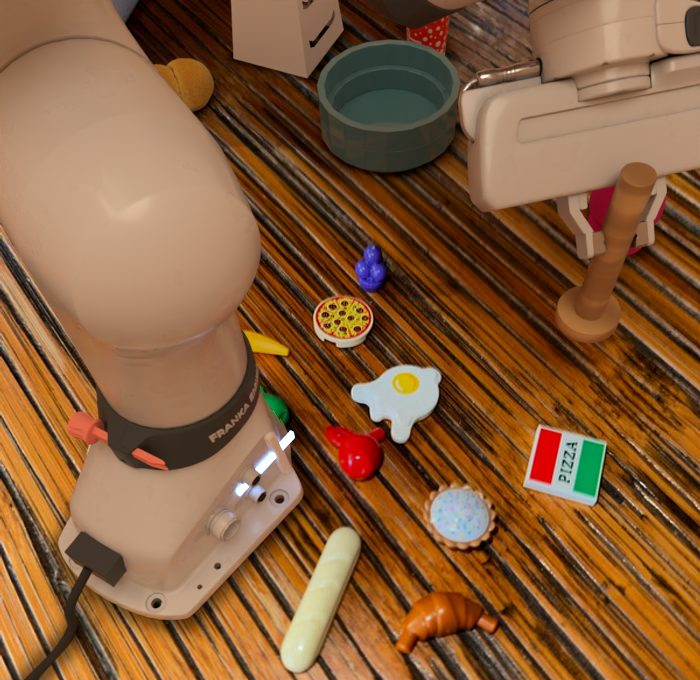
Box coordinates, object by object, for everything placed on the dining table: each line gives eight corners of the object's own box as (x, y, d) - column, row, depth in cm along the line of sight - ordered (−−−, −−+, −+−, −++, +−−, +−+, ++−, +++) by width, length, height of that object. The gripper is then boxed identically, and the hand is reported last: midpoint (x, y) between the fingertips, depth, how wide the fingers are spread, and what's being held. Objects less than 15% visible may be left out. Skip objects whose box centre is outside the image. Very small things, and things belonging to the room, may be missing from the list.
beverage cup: (398, 45, 96) (400, -77, 84) (446, 40, 96) (455, -83, 84) (405, 75, 93) (408, -46, 81) (454, 70, 93) (465, -52, 81)
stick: (604, 352, 62) (665, 211, 49) (545, 329, 64) (588, 186, 51) (626, 308, 64) (689, 162, 51) (567, 286, 66) (615, 138, 53)
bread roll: (222, 107, 92) (216, 77, 89) (150, 126, 91) (141, 96, 87) (205, 67, 96) (198, 36, 92) (136, 85, 95) (126, 55, 91)
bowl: (418, 194, 84) (420, 148, 78) (297, 151, 88) (291, 105, 82) (477, 109, 90) (483, 62, 85) (361, 73, 94) (359, 26, 89)
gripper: (467, 63, 49) (496, 282, 53) (763, 8, 50) (770, 223, 54) (441, 84, 55) (469, 279, 59) (707, 34, 56) (716, 226, 60)
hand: (616, 252), depth 56 cm, fingers closed on stick, 2 cm apart
